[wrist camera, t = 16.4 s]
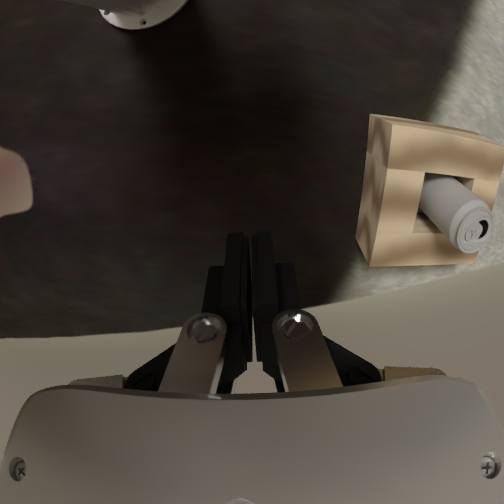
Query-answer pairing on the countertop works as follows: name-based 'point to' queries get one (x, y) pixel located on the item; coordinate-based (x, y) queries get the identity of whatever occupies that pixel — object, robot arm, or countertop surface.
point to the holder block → (418, 188)
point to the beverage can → (456, 212)
